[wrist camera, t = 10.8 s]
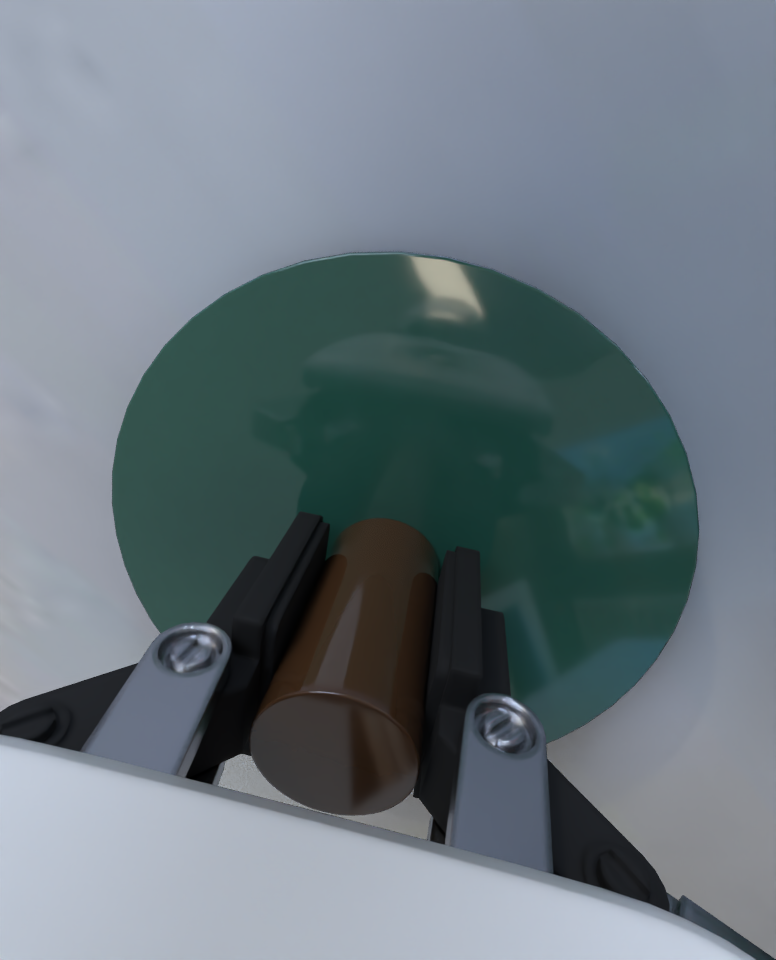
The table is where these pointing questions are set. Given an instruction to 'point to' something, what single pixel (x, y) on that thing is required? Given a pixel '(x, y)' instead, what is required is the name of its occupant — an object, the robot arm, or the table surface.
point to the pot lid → (407, 499)
